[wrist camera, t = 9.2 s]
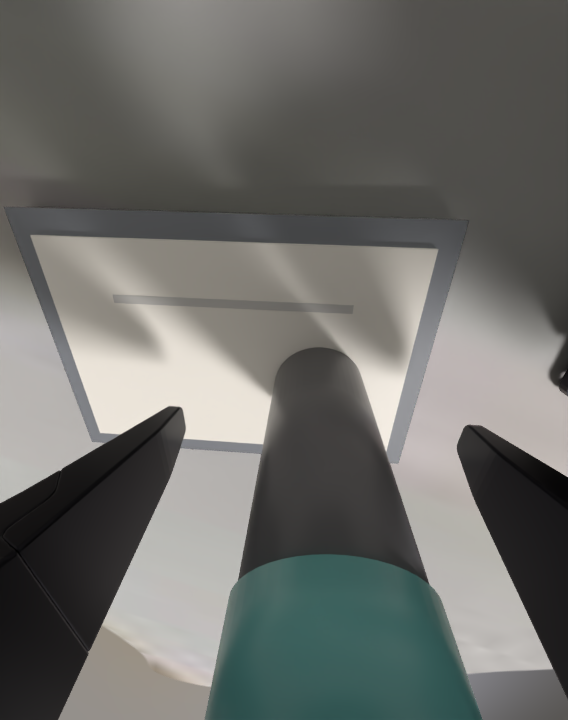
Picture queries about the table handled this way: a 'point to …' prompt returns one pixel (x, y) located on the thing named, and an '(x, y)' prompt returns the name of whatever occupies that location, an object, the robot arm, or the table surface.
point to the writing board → (234, 310)
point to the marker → (332, 573)
